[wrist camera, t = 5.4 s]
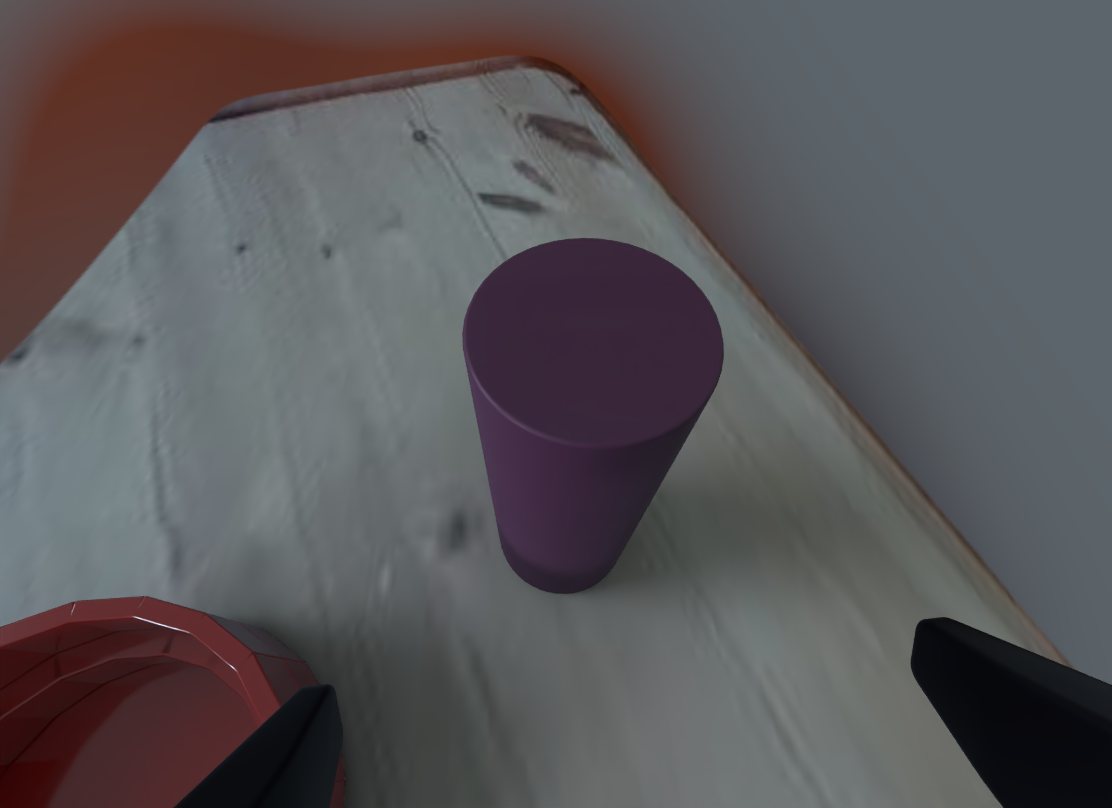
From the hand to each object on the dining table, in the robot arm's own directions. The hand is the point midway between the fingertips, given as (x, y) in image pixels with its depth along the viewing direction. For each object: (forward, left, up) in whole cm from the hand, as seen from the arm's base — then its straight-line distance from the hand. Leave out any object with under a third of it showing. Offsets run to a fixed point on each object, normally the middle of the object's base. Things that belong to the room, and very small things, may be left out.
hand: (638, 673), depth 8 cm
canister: (+5, -3, -12) cm, 13 cm away
